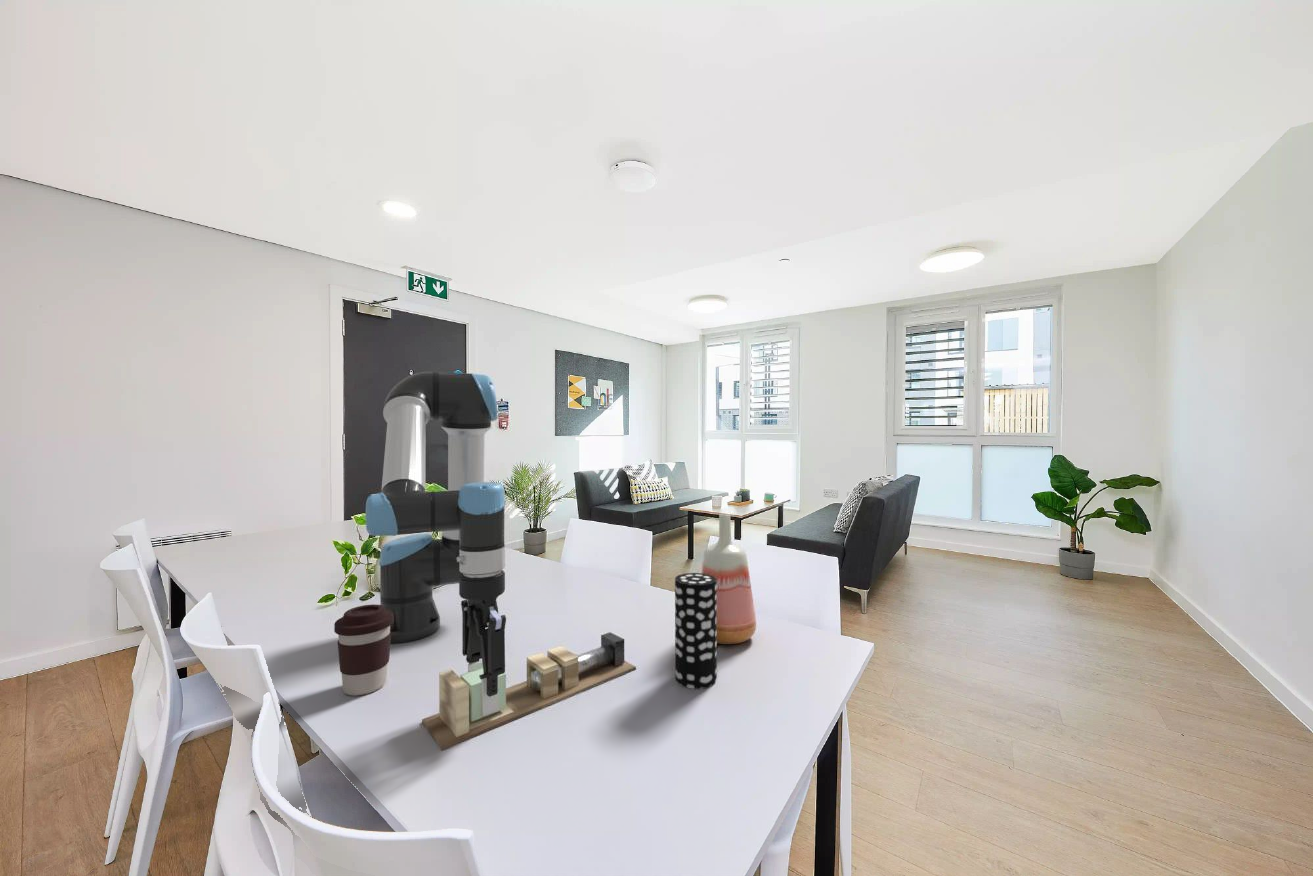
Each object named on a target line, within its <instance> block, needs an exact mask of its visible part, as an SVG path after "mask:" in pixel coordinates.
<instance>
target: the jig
mask: <svg viewBox="0 0 1313 876" xmlns="http://www.w3.org/2000/svg"><path fill="white" fill-rule="evenodd" d="M546 653H547V656H546V655H545V654H543V653H542V652H537V653H535V654H532V655H529V656H527V657H526V680H525V681H523V682H520V683H517V684H514V685H511V686H509V687H506V708H505V709H503V710H500V711H498V712H495V713H493V714H490V715H488V716H485V717H483V718H480V719H477V720H475V721H472V722H471V720H470V719H469V686H468V685H467V684H466V683H465V682H464V681H463V680H462V679H461V678H460V676H459V675H458V674H457V673H456V672H455V671H454V670H453V669H452V668H449V669H447V670H443V671H440V672H438V673H439V678H438V679H439V682H438V684H439V686H438V687H439V689H438V691H439V694H438V695H439V696H438V699H439V702H438V703H439V707H438V709H439V711H438V713H436V714H432V715H430V716H428V717H424V718H422V719H421V721H422V724H423V726H424V727H425V728H426V730H427V731H428V732H429V734H430V735H431V736H432V738H433V739H434V741H435V742H436V743H437V745H438V746H439V747H440V749H441V750H442V751H444V750H447V749H449V748H450V747H451V748H452V747H453V746H456V745H458V744H460V743H463V742H466V741H467V740H470V739H472V738H475V737H477V736H479V735H482V734H485V733H486V732H489V731H491V730H494V729H497V728H499V727H502V726H503V725H506V724H508V723H510V722H513V721H516V720H518V719H521V718H522V717H525V716H527V715H530V714H532V713H535V712H537V711H539V710H540V711H541V709H544V708H546V707H549V706H551V705H554V704H556V703H559V702H561V701H564V700H565V699H568V698H570V697H573V696H575V695H578V694H580V693H582V692H585V691H587V690H590V689H592V688H594V687H597V686H599V685H601V684H603V683H606V682H609V681H611V680H614V679H615V678H618V677H620V676H622V675H626V674H628V673H631V672H633V671H635V670H636V669H637V666H635V665H634V664H632V663H630V662H628V661H626V660H624V663H623V664H620V665H618V666H613V665H612V664H610V663H609V664H606V665H604V666H601V667H598V668H596V669H593V670H591V671H588V672H586V673H583V674H580V675H579V660H578V656H577V655H576V654H574V653H573V652H571V651H570V650H568V649H566V648H565V647H563V646H561V645H559V646H556V647H554V648H550V649H547V652H546ZM557 662H558V663H560V664H561V665H562V682H560V683H558V664H557ZM535 670H538V671H539V672H540V675H541V690H539V691H535V690H534V689H533V687H532V684H531V679H530V676H531V672H532V671H535Z"/></svg>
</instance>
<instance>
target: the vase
mask: <svg viewBox="0 0 1313 876" xmlns="http://www.w3.org/2000/svg"><path fill="white" fill-rule="evenodd" d="M718 518H719V519H718V541H717V542H716V543H714V544H712V545H709V546H708V547H706V548H705V549H704V552H703V556H702V564H701V573H703V574H708V575H712V576H714V577H715V578H716V579H717V644H720V645H736V644H740V643H743V642H744V643H745V642H746V641H748V640H749V639H751V638H752V637H753V636H754V634H755V633H756V630H757V619H756V618H757V617H756V610H755V604H754V598H753V590H752V583H751V577H750V571H749V564H748V557H747V553H746V551H745V549H744V548H742V547H741V546H740V545H737V544H735V543H733V541H732V531H731V529H732V527H731V526H732V525H731V524H732V523H731V514H730V513H719V517H718Z"/></svg>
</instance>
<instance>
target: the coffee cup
mask: <svg viewBox="0 0 1313 876" xmlns="http://www.w3.org/2000/svg"><path fill="white" fill-rule="evenodd" d="M342 615H343V616H342V617H340V618H338V619H337V620H336V621H335V622H334V624H333V626H334V627H333V629H334V631H333V632H334V633H335V634H336V635H338V640H337V651H338V652H337V653H338V661H339V662H338V663H339V671H340V673H341V680H342V682H341V683H342V691H343V693H345V694H346V695H348V696H362V695H367V694H371V693H373V692H376V691H377V690H379V689H381V688H383V686H384V685H385V684H386V683H387V681H388V679H387V677H388V664H389V662H390V650H391V643H390V640H391V631H390V625H391V624H392V623H393V622H394V613H393V612H391V611H389V610H386V609H385V607H384V606H382V605H380V604H364V605H359V606H356V607H355V606H354V607H353V608H350V609H348V610H347V611H345V612H344V613H343V614H342Z"/></svg>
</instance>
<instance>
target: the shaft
mask: <svg viewBox="0 0 1313 876" xmlns="http://www.w3.org/2000/svg"><path fill="white" fill-rule="evenodd" d="M576 656H578V660H579V675H580V674H583V673H586V672H588V671H591V670H593V669H596V668H598V667H601V666H604V665H606V664H609V663H610V664H612V665H613V666H618V665H620V664H623V663H624V661H625V639H624V638H623V637H621V636H618V635H616V634H614V633H612V632H606V633H604V634H600V647H596V648H594V649H592V650H591V649H590V650H588V651H585V652H582V653H580V654H577V655H576ZM557 664H558V683H560V682H562V665H561V664H560V663H558V662H557ZM530 679H531V684H532V687H533V689H534V690H535V691H539V690H541V675H540V672H539V671H538V670H535V671H532V672H531V676H530Z"/></svg>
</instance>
